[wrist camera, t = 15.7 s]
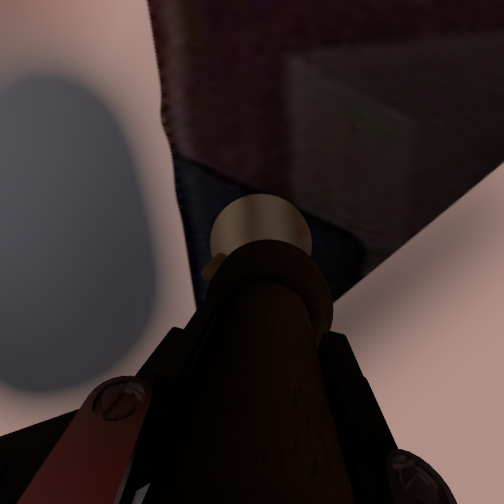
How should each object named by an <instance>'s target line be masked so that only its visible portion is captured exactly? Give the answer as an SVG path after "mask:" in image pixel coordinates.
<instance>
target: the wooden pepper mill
mask: <svg viewBox="0 0 504 504" xmlns="http://www.w3.org/2000/svg"><path fill="white" fill-rule="evenodd" d="M206 300H210V301H214V302H218V307H222V312H221V317H220V322H219V327H218V331H217V333H216V336H215V338H214V340H213V343H212V345H211V348H210V350H209V352H208V355H207V357H206V359H205V362H204V364H203V366H202V369H201V371H200V373H199V375H198V378H197V380H196V382H195V385H194V387H193V389H192V392H191V394H190V396H189V399H188V401H187V403H186V405H185V408H184V410H183V412H182V415H181V417H180V419H179V421H178V424H177V426H176V428H175V430H174V432H173V435H172V437H171V439H170V441H169V443H168V446H167V448H166V450H165V452H164V455H163V457H162V459H161V461H160V463H159V466H158V468H157V470H156V472H155V475H154V477H153V479H152V481H151V484H150V486H149V488H148V490H147V493H146V495H145V497H144V499H143V502H142V504H356V503H355V499H354V496H353V492H352V488H351V484H350V480H349V476H348V472H347V468H346V464H345V460H344V456H343V453H342V449H341V445H340V441H339V437H338V433H337V429H336V425H335V421H334V417H333V413H332V409H331V405H330V401H329V397H328V393H327V389H326V385H325V381H324V377H323V372H322V368H321V364H320V360H319V356H318V352H317V349H318V346H319V343H320V341H321V338H322V335H323V334H324V333H325V334H328V332H329V331H330V328H331V325H332V320H333V302H332V296H331V293H330V290H329V287H328V285H327V282H326V280H325V279H324V277H323V274H322V272H321V270H320V269H319V267H318V265H317V264H316V263H315V261H314V260H313V259H312V258H311V257H310V256H309V255H308V254H307V253H306V252H304V251H303V250H302V249H300V248H298V247H297V246H295V245H292V244H290V243H287V242H284V241H280V240H273V239H263V240H256V241H252V242H249V243H246V244H244V245H242V246H240V247H238V248H237V249H235V250H234V251H233V252H231V253H230V254H229V255H228V256H227V257H226V258H225V260H224V261H223V262H222V264H221V265H220V267H219V268H218V269H217V271H216V272H215V274H214V276H213V277H212V279H211V281H210V284H209V286H208V289H207V293H206Z"/></svg>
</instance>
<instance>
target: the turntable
mask: <svg viewBox="0 0 504 504" xmlns="http://www.w3.org/2000/svg"><path fill="white" fill-rule="evenodd" d="M263 239H273V240H280V241H284V242H287V243H290V244H292V245H295V246H297V247H298V248H300V249H302V250H303V251H304V252H306V253H307V254H308V255H309V256H310V255H311V249H312V241H311V234H310V230H309V227H308V225H307V223H306V221H305V219H304V217H303V216H302V215H301V213H300V212H299V211H298V210H297V209H296V208H295V207H294V206H293V205H292V204H291V203H289V202H288V201H286V200H284V199H282V198H280V197H277V196H274V195H269V194H253V195H248V196H245V197H242V198H240V199H237V200H235V201H234V202H232V203H231V204H229V205H228V206H227V207H226V208H225V209H224V210H223V211H222V212H221V213H220V215H219V216H218V217H217V219H216V221H215V223H214V226H213V228H212V232H211V239H210V246H211V253H212V257H213V258H212V259H211V261H210V262H209V263H208V264H207V265H206V266H205V267H204V268H203V269H202V271H201V275H202V277H203V278H204V279H205V280H211V279H212V277H213V276H214V274H215V272H216V271H217V269H218V268H219V267H220V265H221V264H222V262H223V261H224V260H225V258H226V257H227V256H228V255H229V254H230V253H231V252H233V251H234V250H235V249H237V248H238V247H240V246H242V245H244V244H246V243H249V242H252V241H256V240H263Z"/></svg>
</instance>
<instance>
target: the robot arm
mask: <svg viewBox="0 0 504 504" xmlns="http://www.w3.org/2000/svg"><path fill="white" fill-rule="evenodd" d="M221 312H222V307H218V302H214V301H210V300H206V299H204V300H203V301H202V303H201V304H200V306H199V307H198V309H197V310H196V312H195V313H194V315H193V316H192V318H191V319H190V321H189V322H188V324H187V325H186V327H185V328H184V329H181V328H177V327H173V328H171V330H170V331H169V332H168V334H167V335H166V336H165V338H164V339H163V340H162V341H161V343H160V344H159V345H158V346H157V348H156V349H155V350H154V352H153V353H152V354H151V356H150V357H149V358H148V360H147V361H146V362H145V364H144V365H143V366H142V367H141V369H140V370H139V371H138V373H137V374H136V375H135V376H120V377H115V378H112V379H110V380H107V381H105V382H103V383H102V384H100V385H99V386H97V387H96V388H95V389H94V390H93V391H92V392H91V393H90V394H89V395H88V397H87V399H86V400H85V402H84V403H83V404H82V406H81V407H80V409H77V410H75V411H72V412H69V413H66V414H63V415H60V416H58V417H55V418H52V419H49V420H46V421H43V422H40V423H37V424H35V425H32V426H29V427H26V428H23V429H20V430H18V431H15V432H12V433H9V434H6V435H3V436H0V504H135V502H136V499H137V496H138V492H139V489H141V488H142V487H144V486H146V485H147V484H149V483H151V481H152V479H153V477H154V475H155V472H156V470H157V468H158V466H159V463H160V461H161V459H162V457H163V455H164V452H165V450H166V448H167V446H168V443H169V441H170V439H171V437H172V435H173V432H174V430H175V428H176V426H177V424H178V421H179V419H180V417H181V415H182V412H183V410H184V408H185V405H186V403H187V401H188V399H189V396H190V394H191V392H192V389H193V387H194V385H195V382H196V380H197V378H198V375H199V373H200V371H201V369H202V366H203V364H204V362H205V359H206V357H207V355H208V352H209V350H210V348H211V345H212V343H213V340H214V338H215V336H216V333H217V331H218V327H219V322H220V317H221ZM317 352H318V356H319V360H320V364H321V368H322V372H323V377H324V381H325V385H326V389H327V393H328V397H329V401H330V405H331V409H332V413H333V417H334V421H335V425H336V429H337V433H338V437H339V441H340V445H341V449H342V453H343V456H344V460H345V464H346V468H347V472H348V476H349V480H350V484H351V488H352V492H353V496H354V499H355V503H356V504H457V502H456V500H455V498H454V496H453V494H452V492H451V490H450V488H449V487H448V485H447V484H446V483H445V481H444V480H443V479H442V477H441V476H440V475H439V474H438V473H437V472H436V471H435V470H434V469H433V468H432V467H431V466H430V465H429V464H428V463H426V462H425V461H424V460H423V459H421V458H420V457H418V456H416V455H415V454H413V453H411V452H409V451H405V450H402V449H398V447H397V445H396V443H395V441H394V438H393V436H392V434H391V432H390V429H389V427H388V425H387V423H386V421H385V418H384V416H383V414H382V412H381V409H380V407H379V405H378V403H377V401H376V398H375V396H374V394H373V392H372V389H371V387H370V385H369V383H368V381H367V379H366V378H365V377H364V376H363V374H362V372H361V369H360V367H359V365H358V362H357V360H356V358H355V356H354V353H353V351H352V349H351V346H350V344H349V342H348V340H347V337H346V336H345V335H344V334H340V333H336V332H332V331H329V332H328V334H325V333H324V334H323V335H322V338H321V341H320V343H319V346H318V349H317Z"/></svg>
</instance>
